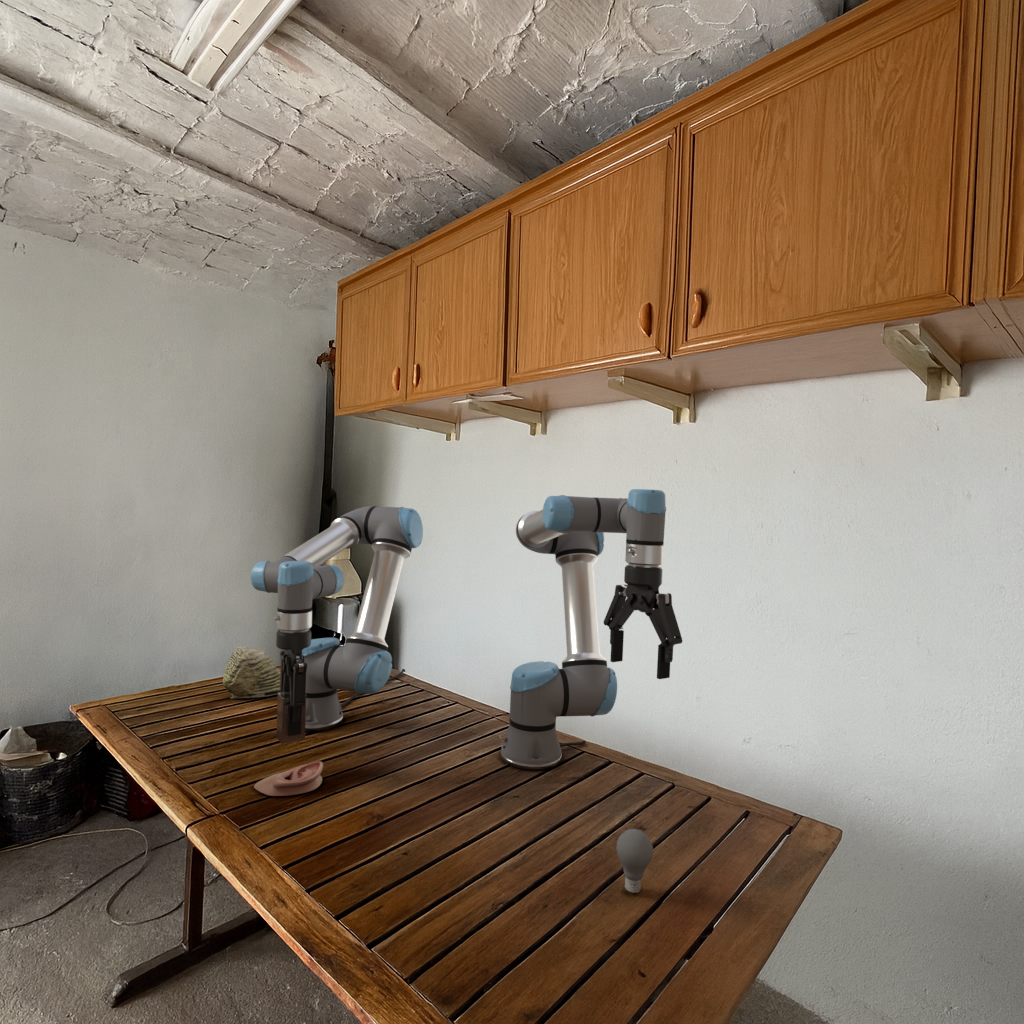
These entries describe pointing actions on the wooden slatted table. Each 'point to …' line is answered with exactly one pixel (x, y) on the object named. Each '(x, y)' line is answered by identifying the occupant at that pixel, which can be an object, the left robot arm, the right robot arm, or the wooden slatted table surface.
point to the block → (282, 719)
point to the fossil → (251, 674)
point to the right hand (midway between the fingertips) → (638, 669)
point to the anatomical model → (292, 781)
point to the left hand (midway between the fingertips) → (291, 730)
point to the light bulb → (634, 857)
